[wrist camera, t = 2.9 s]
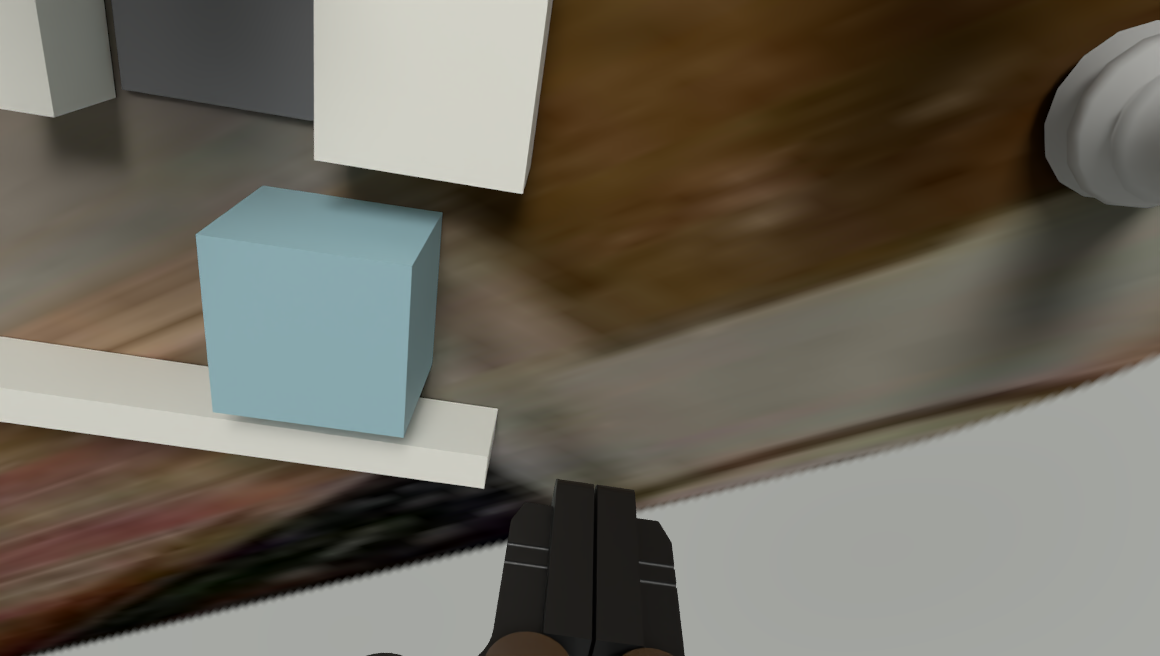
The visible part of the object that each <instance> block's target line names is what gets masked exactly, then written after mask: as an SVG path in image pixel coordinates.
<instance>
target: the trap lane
mask: <svg viewBox="0 0 1160 656" xmlns="http://www.w3.org/2000/svg"><path fill="white" fill-rule="evenodd" d="M111 2H112V11H113V19H114V27H115V36H116V44H117V52H118V61H119V69H120V77H121V86H122V89H123V90H129V91H135V92H141V93H147V94H153V95H159V96H165V97H171V98H177V99H183V100H189V101H195V102H201V103H207V104H213V105H219V106H225V107H231V108H237V109H243V110H249V111H255V112H261V113H267V114H273V115H279V116H285V117H291V118H297V119H303V120H309V121H314V160H317V161H323V162H329V163H335V164H342V165H348V166H354V167H360V168H366V169H372V170H378V171H384V172H390V173H397V174H403V175H409V176H415V177H421V178H427V179H433V180H439V181H446V182H452V183H458V184H464V185H470V186H476V187H482V188H488V189H494V190H501V191H507V192H513V193H519V194H523V191H524V188H525V184H526V181H527V177H528V174H529V170H530V167H531V159H532V152H533V145H534V137H535V130H536V122H537V115H538V107H539V100H540V93H541V85H542V78H543V70H544V63H545V55H546V48H547V40H548V33H549V26H550V18H551V11H552V3H553V0H111ZM113 98H116V94H115V86H114V78H113V70H112V62H111V54H110V46H109V38H108V30H107V21H106V13H105V5H104V0H0V109H5V110H11V111H17V112H23V113H29V114H36V115H42V116H48V117H58V116H61V115H64V114H67V113H70V112H73V111H76V110H79V109H82V108H86V107H89V106H92V105H95V104H98V103H101V102H104V101H107V100H110V99H113ZM497 412H498V409H496V408H489V407H482V406H475V405H468V404H461V403H454V402H448V401H441V400H434V399H427V398H420V397H419V399H418V402H417V405H416V407H415V410H414V412H413V415H412V417H411V420H410V423H409V425H408V428H407V430H406V433H405V435H404V438H401V437H394V436H386V435H379V434H371V433H364V432H356V431H349V430H341V429H334V428H326V427H319V426H312V425H304V424H297V423H289V422H282V421H274V420H267V419H259V418H252V417H244V416H237V415H230V414H222V413H215V412H213V409H212V399H211V388H210V378H209V368H208V367H207V366H200V365H193V364H186V363H179V362H172V361H166V360H159V359H152V358H145V357H138V356H131V355H124V354H117V353H111V352H104V351H97V350H90V349H83V348H76V347H69V346H62V345H56V344H49V343H42V342H35V341H28V340H21V339H14V338H7V337H1V336H0V422H7V423H14V424H21V425H29V426H36V427H43V428H50V429H57V430H65V431H72V432H79V433H86V434H94V435H101V436H108V437H115V438H122V439H130V440H137V441H144V442H151V443H158V444H166V445H173V446H180V447H187V448H194V449H202V450H209V451H216V452H223V453H230V454H238V455H245V456H252V457H259V458H267V459H274V460H281V461H288V462H295V463H303V464H310V465H317V466H324V467H331V468H339V469H346V470H353V471H360V472H367V473H375V474H382V475H389V476H396V477H403V478H411V479H418V480H425V481H432V482H440V483H447V484H454V485H461V486H468V487H476V488H483V489H484V485H485V481H486V476H487V471H488V466H489V461H490V456H491V451H492V446H493V441H494V434H495V427H496V420H497Z"/></svg>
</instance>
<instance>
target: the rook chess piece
mask: <svg viewBox="0 0 1160 656" xmlns="http://www.w3.org/2000/svg"><path fill="white" fill-rule="evenodd" d="M1044 130H1045V157H1046V159H1047V161H1048V162H1049V164H1050V166H1051V168H1052V170H1053V172H1054V173H1055V175H1056V177H1057V179H1058V181H1059V182H1061V183H1062V184H1064V185H1065V186H1067V187H1069V188H1070V189H1072V190H1074V191H1075V192H1077V193H1079V194H1080V195H1082V196H1084V197H1094V198H1096V199H1098V200H1099V201H1101V202H1102V203H1104V204H1107V205H1118V206H1129V207H1140V208H1151V207H1155V206H1159V205H1160V20H1157V21H1153V22H1150V23H1147V24H1143V25H1140V26H1137V27H1133V28H1130V29H1127V30H1123V31H1120V32H1118V33H1116V34H1115V35H1114V36H1112V37H1111V38H1109V39H1108V40H1106V41H1105V42H1103V43H1102V44H1101V45H1099V46H1098V47H1096V48H1095V49H1093V50H1092V51H1090V52H1089V53H1088V54H1086V55H1085V56H1083V58H1082V59H1081V60H1080V61H1079V63H1078V64H1077V65H1076V66H1075V68H1074V69H1073V70H1072V71H1071V73H1070V74H1069V75H1068V76H1067V78H1066V79H1065V80H1064V81H1063V83H1062V84H1061V85H1060V86H1059V88H1058V89H1057V92H1056V94H1055V97H1054V100H1053V102H1052V105H1051V108H1050V110H1049V113H1048V116H1047V118H1046V121H1045V124H1044Z"/></svg>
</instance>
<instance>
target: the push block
mask: <svg viewBox="0 0 1160 656" xmlns="http://www.w3.org/2000/svg"><path fill="white" fill-rule="evenodd" d="M442 214H443V212H436V211H429V210H423V209H416V208H409V207H403V206H396V205H389V204H382V203H376V202H369V201H362V200H356V199H349V198H342V197H336V196H329V195H322V194H316V193H309V192H302V191H296V190H289V189H282V188H275V187H269V186H261V187H260V188H259V189H257V190H256V191H255V192H253V193H252V194H250V195H249V196H248V197H246V198H245V199H244V200H242V201H241V202H239V203H238V204H237V205H235V206H234V207H233V208H231V209H230V210H228V211H227V212H226V213H224V214H223V215H222V216H220V217H219V218H217V219H216V220H215V221H213V222H212V223H211V224H209V225H208V226H206V227H205V228H204V229H202V230H201V231H200V232H198V233H197V234H196V243H197V254H198V264H199V274H200V285H201V295H202V305H203V316H204V326H205V337H206V347H207V357H208V368H209V378H210V388H211V399H212V409H213V412H215V413H222V414H230V415H237V416H244V417H252V418H259V419H267V420H274V421H282V422H289V423H297V424H304V425H312V426H319V427H326V428H334V429H341V430H349V431H356V432H364V433H371V434H379V435H386V436H394V437H401V438H404V435H405V433H406V430H407V428H408V425H409V423H410V420H411V417H412V415H413V412H414V410H415V407H416V405H417V402H418V399H419V397H420V394H421V392H422V389H423V387H424V384H425V381H426V379H427V376H428V374H429V371H430V369H431V366H432V361H433V346H434V331H435V317H436V302H437V287H438V272H439V258H440V243H441V228H442Z"/></svg>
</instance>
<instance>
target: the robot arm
mask: <svg viewBox="0 0 1160 656" xmlns="http://www.w3.org/2000/svg"><path fill="white" fill-rule="evenodd" d="M368 656H401V655H398V654H393V653H378V654H372V655H368ZM479 656H685V655H684V647H683V637H682V629H681V621H680V612H679V603H678V594H677V588H676V577H675V570H674V560H673V551H672V543H671V541H670V539H669V538H668V536H667V535H666V533H665V531H664V530H663V528H662V527H661V525H660V523H659V522H658V521H652V520H646V519H638V518H636V502H635V492H634V490H630V489H623V488H616V487H609V486H602V485H596V487H595V490H594V484H588V483H581V482H574V481H567V480H560V479H556V483H555V487H554V493H553V498H552V504H551V506H548V505H541V504H534V503H527V502H525V503H524V505H523V506H522V507H521V508H520V510H519V511H518V512H517V513H516V515H515V516H514V517H513V518H512V520H511V524H510V531H509V537H508V543H507V549H506V555H505V563H504V568H503V574H502V580H501V586H500V592H499V599H498V605H497V612H496V618H495V623H494V630H493V633H492V637H491V639H490V641H489V643H488V645H487V646H486V648H485V649H484V650H483V651H482V652H481V654H479Z"/></svg>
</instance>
